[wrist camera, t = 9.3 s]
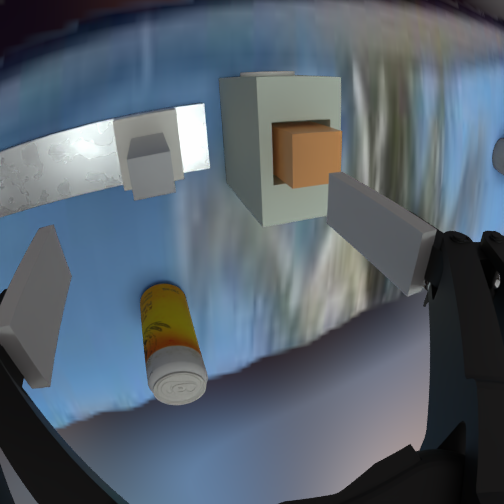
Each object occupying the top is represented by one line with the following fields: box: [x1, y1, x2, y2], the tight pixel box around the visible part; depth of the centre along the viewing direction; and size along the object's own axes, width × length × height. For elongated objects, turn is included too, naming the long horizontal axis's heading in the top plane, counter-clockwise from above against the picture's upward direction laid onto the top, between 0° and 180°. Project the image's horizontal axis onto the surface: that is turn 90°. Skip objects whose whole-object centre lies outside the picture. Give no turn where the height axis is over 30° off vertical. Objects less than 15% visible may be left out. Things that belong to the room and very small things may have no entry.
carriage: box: [113, 108, 184, 201], centre depth 26 cm, size 6×7×11 cm
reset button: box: [272, 121, 342, 189], centre depth 24 cm, size 4×4×5 cm
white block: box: [219, 71, 341, 227], centre depth 29 cm, size 7×12×12 cm, turn 3°
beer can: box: [140, 284, 208, 405], centre depth 35 cm, size 6×6×15 cm
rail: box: [0, 103, 210, 217], centre depth 29 cm, size 25×7×2 cm, turn 93°
